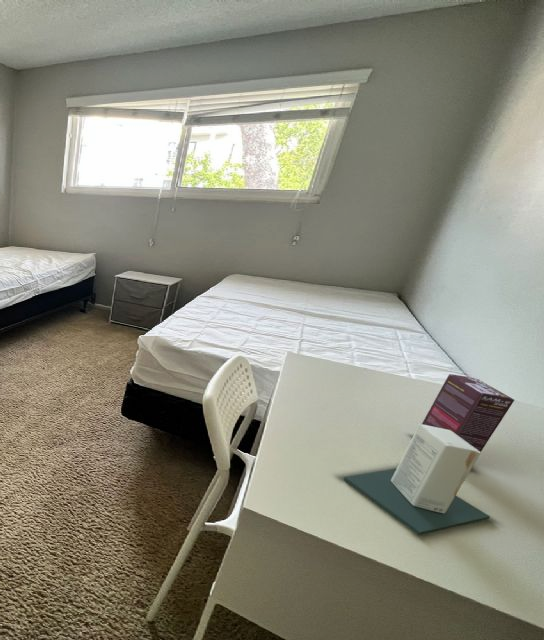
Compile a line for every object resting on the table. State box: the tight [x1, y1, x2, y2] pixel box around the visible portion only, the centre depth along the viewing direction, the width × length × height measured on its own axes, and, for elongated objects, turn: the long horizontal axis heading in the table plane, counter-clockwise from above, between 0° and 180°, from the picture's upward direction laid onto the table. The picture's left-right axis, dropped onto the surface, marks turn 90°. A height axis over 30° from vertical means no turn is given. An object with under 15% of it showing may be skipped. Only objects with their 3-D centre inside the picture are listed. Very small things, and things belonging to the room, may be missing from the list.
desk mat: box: [343, 467, 491, 536], centre depth 59 cm, size 16×11×1 cm
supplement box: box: [421, 373, 515, 453], centre depth 69 cm, size 9×5×16 cm, turn 160°
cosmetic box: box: [391, 423, 482, 514], centre depth 57 cm, size 6×4×12 cm
